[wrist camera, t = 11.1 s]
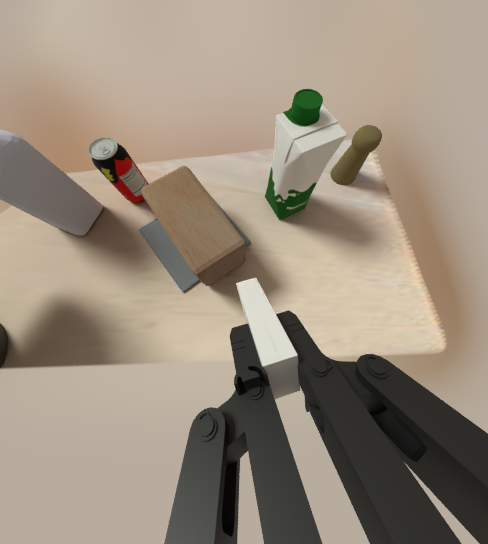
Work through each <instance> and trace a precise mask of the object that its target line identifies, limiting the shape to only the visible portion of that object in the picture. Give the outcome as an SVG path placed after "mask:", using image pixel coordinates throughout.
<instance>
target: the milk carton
mask: <svg viewBox="0 0 488 544" xmlns="http://www.w3.org/2000/svg"><path fill="white" fill-rule="evenodd" d="M322 102H323V99H322V96H321V95H320V94H319V93H318V92H317V91H315V90H312V89H303V90H300V91H298V92H297V93H296V94H295V96H294V99H293V103H292V108H290V109H289V110H288V111H285V112H283V113H282V114H279V115H277V116H276V128H275V148H274V155H273V160H272V166H271V171H270V177H269V182H268V187H267V191H266V195H265V198H266V199H267V201H268V202H269V204H270V206H271V207H272V209H273V211H274V212H275V214H276V215H277V217H278V219H279V220H280V219H282V218H285V217H287V216H289V215H291V214H293V213H296V212H298V211H300V210H302V209H305V206H306V204H307V201H308V199H309V197H310V195H311V193H312V191H313V189H314V187H315V185H316V184H317V182H318V180H319V178H320V176H321V174H322V172H323V170H324V168H325V167H326V165H327V163H328V162H329V160H330V159H331V157H332V156H333V154H334V153H335V152H336V150H337V149H338V147H339V146H340V144H341V143H342V142H343V140H344V139H345V137H346V136H347V134H346V132H345V131H344V130H343V129H342V128H341V127H340V125H339V124H338V121H337V120H336V118H335V117H333V116H332V115H331V114H330V112H329V111H328V110H327V109H326V108H325V107H324V106H323V104H322Z"/></svg>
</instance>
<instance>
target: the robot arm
mask: <svg viewBox="0 0 488 544" xmlns="http://www.w3.org/2000/svg"><path fill="white" fill-rule="evenodd" d="M236 285H237V289H238V293H239V297H240V300H241V304H242V308H243V312H244V315H245V318H246V322H247V324H244V325H241V326H238V327H234V328H232V330H231V333H230V340H231V346H232V351H233V357H234V363H235V368H236V375H235V378H234V385H235V388H236V390H235V392H234V394H233V395H232V397H231V398H230V399H229V400H228V401H226V402H225V403H224V404H223V405H221V406H220V407H219V408H207V409H204V410H203V411H201V412H200V413H199V414H198V415H197V416H196V418H195V419H194V421H193V423H192V426H191V428H190V432H189V437H188V442H187V446H186V450H185V455H184V459H183V463H182V469H181V473H180V477H179V481H178V486H177V490H176V494H175V499H174V503H173V508H172V512H171V516H170V521H169V525H168V530H167V534H166V539H165V543H164V544H237V529H238V500H239V471H240V458H241V457H242V456H243V455H244V453H246V452H247V451H248V452H249V458H250V464H251V470H252V476H253V481H254V487H255V493H256V499H257V504H258V510H259V516H260V522H261V527H262V533H263V539H264V544H322V541H321V539H320V535H319V532H318V530H317V526H316V523H315V520H314V517H313V514H312V511H311V508H310V505H309V502H308V499H307V496H306V493H305V490H304V487H303V484H302V481H301V478H300V475H299V472H298V469H297V466H296V463H295V460H294V457H293V454H292V451H291V448H290V445H289V442H288V438H287V435H286V432H285V429H284V426H283V423H282V420H281V418H280V414H279V411H278V408H277V405H276V402H275V399H276V398H279V397H282V396H285V395H288V394H291V393H294V392H297V391H300V386H301V389H302V391H303V393H304V395H305V407H306V411H307V412H309V411H310V413H311V415H312V417H313V420H314V422H315V424H316V426H317V428H318V431H319V433H320V435H321V437H322V440H323V442H324V444H325V446H326V448H327V450H328V453H329V455H330V457H331V459H332V461H333V464H334V466H335V468H336V470H337V472H338V474H339V476H340V479H341V481H342V483H343V485H344V488H345V490H346V492H347V494H348V496H349V499H350V501H351V503H352V505H353V507H354V510H355V511H356V514H357V516H358V518H359V520H360V523H361V525H362V527H363V529H364V531H365V534H366V535H367V538H368V540H369V542H370V544H461V543H460V541H459V540H458V538H457V537H456V536H455V534H454V532H453V531H452V530H451V528H450V527H449V525H448V524H447V523H446V521H445V520H444V518H443V517H442V516H441V514H440V513H439V511H438V510H437V508H436V507H435V506H434V504H433V503H432V502H431V500H430V499H429V497H428V496H427V494H426V493H425V491H424V490H423V489H422V488H421V486H420V484H419V483H418V481H417V480H416V479H415V477H414V476H413V474H412V473H411V471H410V470H409V469H408V467H407V466H406V465H405V463H406V464H407V465H408V466H409V468H410V469H411V470H412V471H413V472H414V473H415V474H416V475H417V476H418V477H419V478H420V480H422V482H423V483H424V484H425V485H426V486H427V487H428V488H429V489H430V490H431V491H432V492H433V494H434V495H435V496H436V497H437V498H438V499H439V500H440V501H441V502H442V503H443V504H444V506H445V507H446V508H447V509H448V510H449V511H450V512H451V513H452V514H453V515H454V516H455V517H456V518H457V520H458V521H459V522H460V523H461V524H462V525H463V526H464V527H465V528H466V529H467V530H468V531H469V532H470V534H471V535H472V536H473V537H474V538H475V539H476V540H477V541H478V542H479V543H480V544H488V434H487V433H486V432H485V431H483V430H482V429H481V428H479V427H478V426H476V425H475V424H474V423H472V422H471V421H470V420H468V419H467V418H465V417H464V416H463V415H461V414H460V413H459V412H457V411H456V410H454V409H453V408H452V407H450V406H449V405H448V404H446V403H445V402H444V401H442V400H441V399H440V398H438V397H437V396H435V395H434V394H433V393H431V392H430V391H429V390H427V389H426V388H424V387H423V386H422V385H420V384H419V383H417V382H416V381H415V380H413V379H412V378H411V377H409V376H408V375H406V374H405V373H404V372H403V371H401V370H400V369H398V368H397V367H395V366H394V365H393V364H392V363H390V362H389V361H387V360H386V359H383V358H382V357H380V356H377V355H374V354H365V355H363V356H360V358H359V359H358V360H357V362H342V361H335V360H332V359H330V358H328V357H326V356H325V355H324V354H323V353H322V352H321V351H320V350H319V348H318V347H317V345H316V344H315V343H314V341H313V340H312V338H311V337H310V335H309V334H308V332H307V331H306V329H305V328H304V326H303V325H302V323H301V322H300V320H299V319H298V317H297V316H296V315H295V314H293V313H292V312H290V311H286V312H282V313H279V314H275V312H274V310H273V308H272V306H271V305H270V303H269V301H268V299H267V297H266V295H265V293H264V292H263V290H262V288H261V286H260V284H259V282H258V280H257V278H252V279H249V280H245V281H242V282H238V283H236ZM6 350H7V338H6V334H5V331H4V329H3V328H2V326H1V325H0V368H1V366H2V364H3V361H4V358H5V355H6ZM403 461H404V462H405V463H404V462H403Z"/></svg>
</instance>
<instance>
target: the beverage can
mask: <svg viewBox="0 0 488 544" xmlns="http://www.w3.org/2000/svg"><path fill="white" fill-rule="evenodd" d="M88 151H89V155H90V156H91V157H92V161H93V163H94V165H95V166H96V167H97V168H98V169H99V170H100V171H101V173H102V174H103V175H104V176H105V177H106V178H107V179H108V180H109V181H110V182H111V183H112V184H113V185H114V186H115V187H116V188H117V189H118V191H119V192H120V193H121V194H122V195H123V196H124V197H125V198H126V199H127V200H129V201H132V202H140V201H143V200H145V199H144V197H143V196H142V191H141V189H142V188H143V187H144V186H146V185H148V182H147V181H146V179H145V178H144V176H143V175H142V173H141V172H140V170H139V169H138V167H137V166H136V165H135V163H134V162H133V160H132V159H131V157H130V156H129V154H128V153H127V151H126V150H125V149H124V148H123V147H122V146H121V145H119V144H118V143H116V141H115V140H114V139H112V138H109V137H102V138H99V139H96V140H95V141H93V142H92V143H91V145H90V146H89V149H88Z"/></svg>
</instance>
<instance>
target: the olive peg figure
mask: <svg viewBox="0 0 488 544" xmlns="http://www.w3.org/2000/svg"><path fill="white" fill-rule="evenodd" d="M381 138H382V134H381V131H380V130H379V129H378V128H377V127H375V126H372V125H366V126H363V127H361V128H360V129H359V130H358V131H357V132H356V133H355V135H354V136H353V139H352V144H351V146H350V147H349V148H348V150H347V151H346V152H345V153H344V155H343V156H342V157H341V159H340V160H339V161H338V162H337V164H336V165H335V166H334V168H333V169H332V170H331V178H332V179H333V181H334V182H336V183H337V184H340V185H348V184H350V183H352V182H353V181H354V179H355V177H356V176H357V174H358V172H359V170H360V169H361V167H362V165H363V163H364V162H365V160H366V158H367V156H368V155H369V153H370V152H372V151H373V150H374V149H375V148H376V147H377V146H378V145H379V143H380V141H381Z"/></svg>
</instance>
